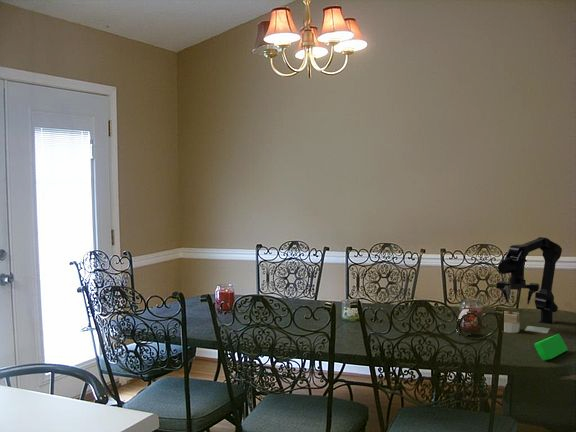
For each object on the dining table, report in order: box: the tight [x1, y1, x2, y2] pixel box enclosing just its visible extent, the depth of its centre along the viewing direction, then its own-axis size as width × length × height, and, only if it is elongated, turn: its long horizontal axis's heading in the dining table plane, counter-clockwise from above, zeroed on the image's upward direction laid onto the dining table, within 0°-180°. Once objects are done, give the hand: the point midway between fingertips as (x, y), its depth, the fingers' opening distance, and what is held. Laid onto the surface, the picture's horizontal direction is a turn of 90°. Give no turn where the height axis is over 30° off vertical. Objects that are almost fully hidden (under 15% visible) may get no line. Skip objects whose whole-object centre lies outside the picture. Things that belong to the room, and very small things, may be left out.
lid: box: [504, 310, 520, 324], centre depth 270 cm, size 7×7×5 cm
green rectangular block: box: [533, 333, 569, 361], centre depth 235 cm, size 20×10×7 cm, turn 134°
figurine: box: [456, 308, 469, 333], centre depth 265 cm, size 7×8×12 cm
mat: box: [524, 325, 551, 334], centre depth 272 cm, size 10×10×1 cm
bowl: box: [504, 321, 520, 334], centre depth 271 cm, size 8×8×4 cm
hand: (517, 303), depth 276 cm, fingers open, 9 cm apart
